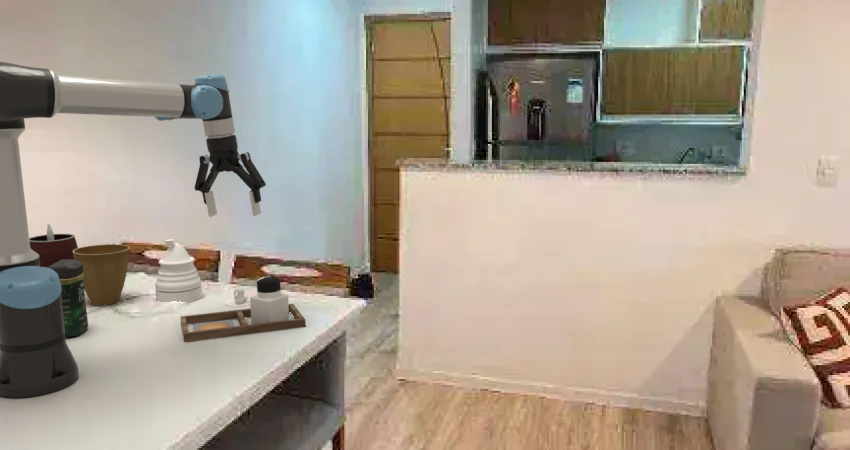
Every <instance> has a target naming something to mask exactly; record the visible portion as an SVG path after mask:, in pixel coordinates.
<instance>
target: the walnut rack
mask: <svg viewBox="0 0 850 450" xmlns="http://www.w3.org/2000/svg"><path fill="white" fill-rule="evenodd" d="M288 305H289V313H290V312H291V313H290V315H293V316H294V317H293V316H292V317H293V318H292V319H289V320H284V321H275V322H267V323H259V324H253V323H250V324H248V321H247V320H246V318H251V308H242V309H235V310H234V309H233V310H227V311H225V310H224V311H217V312H207V313H199V314H191V315H189V314H188V315H181V316H179V317H180V327H181V332H182V337H183V342H184V343H189V342H197V341H204V340H211V339H212V340H213V339H218V338H219V339H220V338H228V337H235V336H236V337H237V336H244V335H251V334H258V333H265V332H266V333H267V332H273V331H282V330H283V331H285V330H290V329H291V330H292V329H298V328H306V318H305V317H304V315H303V314H302V313H301V312H300V310H299V309H298V308H297V307H296V306H295V304H294V303H288ZM245 317H246V318H245ZM225 320H237V321H238V323H239V325H237V326H234V327H226V328H218V329H210V330H202V331H194V330H193V331H189V328H188V327H189V326H188V325H192V324H200V323H208V322H217V321H225Z"/></svg>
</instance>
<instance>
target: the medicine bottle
mask: <svg viewBox="0 0 850 450" xmlns="http://www.w3.org/2000/svg"><path fill="white" fill-rule="evenodd" d="M281 292H282V289H281V279H280V277H278V276H271V275H270V276H263V277H260V278H258V279H257V280H256V294H257V295H253V296H250V297H249V299H250V304H249V305H250V308H249V309H251V317H250V322H251V323H250V324H259V323H267V322H275V321H284V320H290V312H289V305H288V304H289V295H288V294H285V293H281Z"/></svg>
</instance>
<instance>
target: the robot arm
mask: <svg viewBox="0 0 850 450" xmlns="http://www.w3.org/2000/svg"><path fill="white" fill-rule="evenodd" d="M229 92H230V90H229V88H228V82H227V80H226V77H225V76H224V75H223V74H222V73H221V74H220V73H219V74H218V73H217V74H210V75H209V74H207V75H199V76H196V77H195V79H194V84H178V83H167V82H156V81H155V82H153V81H143V80H142V81H139V80H131V79H130V80H128V79H117V78H102V77H91V76H90V77H88V76H77V75H76V76H75V75H62V74H56V73H55V72H54V71H52V70H51V69H50V68H41V67H33V66H25V65H19V64H16V63H11V62H10V63H9V62H4V61H0V397H3V398H11V399H12V398H14V399H15V398H18V399H19V398H30V397H36V396H42V395H45V394H49V393H53V392H56V391H59V390H62V389H64V388H66V387H69V386H70V385H72V384H73V383H75V382H76V381H77V380H78V378H79V366H78V363H77V361H76V358H75V357H74V356H73V354H72V351H71V350H70V348H69V346H68V343H67V341H66V339H67V338H65V328H64V318H63V307H62V297H61V291H62V287H61V283H60V281H59V276H58V274H57V273H56V272H55V271H54V270H52V269H50V268H46V267H40V258H39V254H37V253H36V252H34V251H33V250H32V249H31V248H30V242H29V238H30V234H29V233H30V232H29V223H28V217H27V208H26V207H27V206H26V200H25V198H26V197H25V191H24V188H25V187H24V181H23V171H22V163H21V162H22V161H21V154H20V147H19V146H20V145H19V137H20V136H21V135H22V134H23V132H25V130H26V125H25V124H26V123H25V119H34V118H41V119H42V118H43V119H47V118H48V119H51V118H53V117H54V116H56V115H57V114H71V115H73V114H74V115H75V114H76V115H101V116H102V115H103V116H121V117H122V116H123V117H124V116H127V117H129V116H130V117H152V118H155V120H157V121H161V122H162V121H173V120H178V119H180V120H181V119H182V120H183V119H184V120H185V119H187V120H188V119H190V120H191V119H195V120H196V119H197V120H199V119H200V120H202V127H203V131H204V136H205V137H207V138H206V139H205V142H206V146H207V151H208V152H209V155H208V154H203V155H200V156H199V167H198V172H197V176H196V181H195V185H194V190H195V191H199V192H200V193H201V194H202V199H203V203H204V204H205V205H206V208H207V214H208V217H209V218H212V217H214V216H217V215H218V210H217V207H216V200H215V195H214V190H212V189H211V188H212V186H213V185H214V182H216V181H215V180H216V179H217V177H218V175H219V173H222V172H226V173H227V172H228V173H229V172H232V173H234V174H236V176H237V177H239V178H240V179H241V181H243V183H244V184H245V185H246V186H247V187H248V188H249V189H250V191H248V193H249V201H250V205H251V211H252V216H253V217H257V216H258V215H260V214H262V212H261V206H260V205H261V204H260V203H261V201H262V196H261V189H262V188H264V187H266V185H267V184H266V182H265V180H264V179H263V177H262V175H261V174H260V172H259V171H258V169H257V166H255V164H254V163H253V161H252V159H251V155H250V153H249V151H246V152H244V153H239V152H238V148H239V146H238V140H237V139H238V138H237V136H236V135H235V134H234V133H235V132H236V130H235V123H234V118H233V112H232V106H231V101H230V100H231V99H230V93H229ZM240 162H241V163H242V164H241V163H240ZM210 163H211V164H212V166H211V168H210V170H209V166H210ZM208 170H209V173H208Z"/></svg>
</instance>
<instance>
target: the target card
mask: <svg viewBox="0 0 850 450" xmlns="http://www.w3.org/2000/svg"><path fill="white" fill-rule="evenodd" d="M191 325H192V329H193V331H202V330H210V329H218V328H226V327H234V326H235V323H234V321H233V319H229V320H220V321H212V322H203V323H195V324H191Z"/></svg>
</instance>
